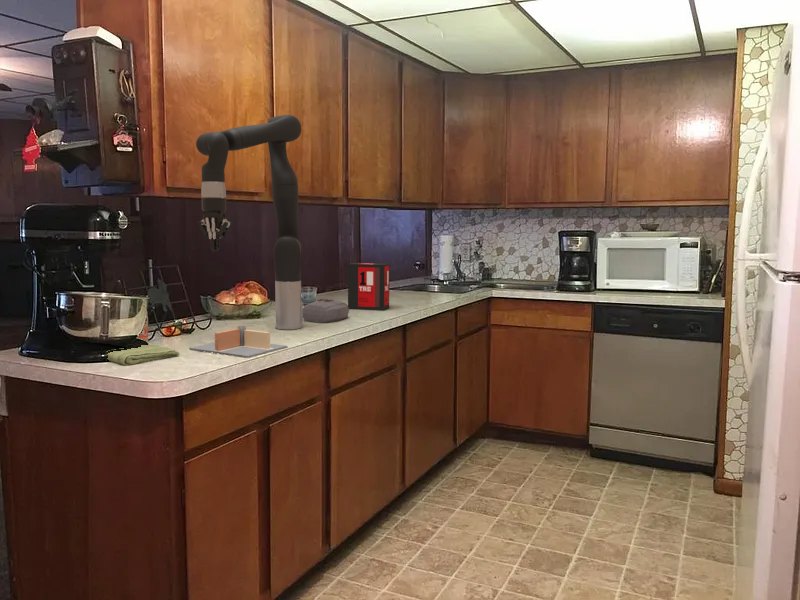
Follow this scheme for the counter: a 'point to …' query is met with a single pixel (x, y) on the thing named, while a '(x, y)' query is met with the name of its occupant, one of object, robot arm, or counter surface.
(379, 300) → the cleaning product box
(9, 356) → the counter surface
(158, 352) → the washcloth
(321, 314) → the soft grey pack
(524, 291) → the counter surface
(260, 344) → the slate board
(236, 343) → the salmon long narrow block
